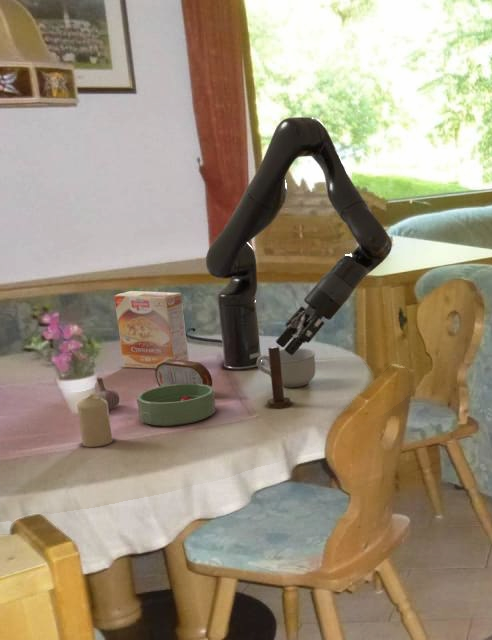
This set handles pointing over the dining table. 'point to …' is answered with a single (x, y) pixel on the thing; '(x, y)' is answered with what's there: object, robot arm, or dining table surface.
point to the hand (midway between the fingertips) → (283, 348)
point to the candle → (94, 421)
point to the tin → (182, 373)
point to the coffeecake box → (151, 328)
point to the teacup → (293, 367)
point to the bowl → (176, 404)
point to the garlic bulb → (107, 394)
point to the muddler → (276, 380)
